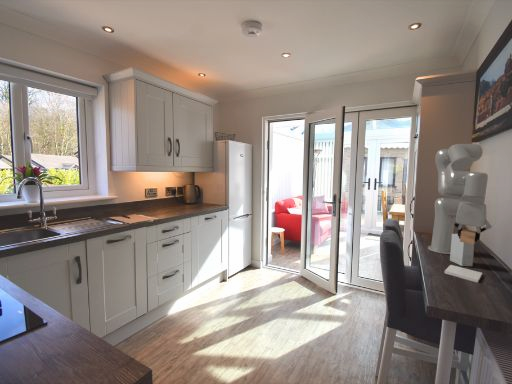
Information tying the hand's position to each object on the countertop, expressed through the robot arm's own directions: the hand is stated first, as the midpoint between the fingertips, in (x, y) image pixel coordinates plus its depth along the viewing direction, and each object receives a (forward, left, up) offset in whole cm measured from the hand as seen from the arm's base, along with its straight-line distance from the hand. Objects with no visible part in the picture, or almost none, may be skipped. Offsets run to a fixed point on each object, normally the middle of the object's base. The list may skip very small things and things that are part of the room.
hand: (468, 239), depth 120 cm
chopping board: (0, 0, -17) cm, 17 cm away
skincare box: (-17, -4, -17) cm, 24 cm away
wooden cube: (0, 0, -1) cm, 1 cm away
